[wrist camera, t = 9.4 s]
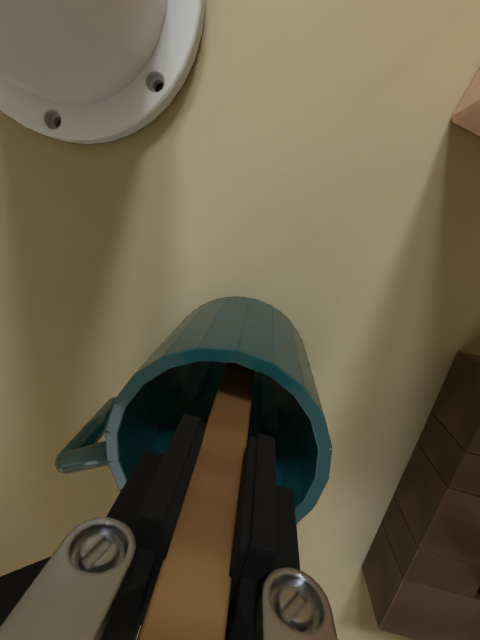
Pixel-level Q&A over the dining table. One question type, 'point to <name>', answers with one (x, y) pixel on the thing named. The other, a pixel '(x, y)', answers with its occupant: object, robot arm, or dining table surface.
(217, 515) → the stirrer
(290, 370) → the mug
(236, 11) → the dining table surface
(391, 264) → the dining table surface
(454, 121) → the soap dispenser
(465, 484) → the stirrer stand
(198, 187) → the dining table surface
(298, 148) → the dining table surface
